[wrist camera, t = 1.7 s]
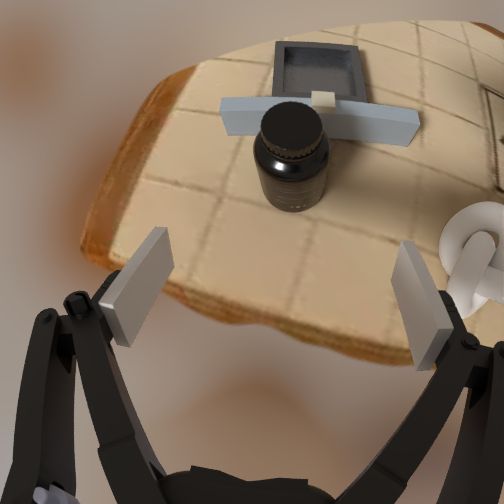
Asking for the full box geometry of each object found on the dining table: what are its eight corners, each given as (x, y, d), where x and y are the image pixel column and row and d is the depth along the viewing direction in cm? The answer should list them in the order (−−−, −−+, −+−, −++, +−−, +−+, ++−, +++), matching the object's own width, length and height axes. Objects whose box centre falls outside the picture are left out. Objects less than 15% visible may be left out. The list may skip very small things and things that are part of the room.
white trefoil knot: (457, 349, 28) (502, 355, 19) (398, 267, 31) (432, 248, 22) (510, 283, 28) (556, 271, 19) (457, 207, 31) (495, 176, 22)
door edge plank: (405, 133, 33) (420, 104, 27) (407, 147, 33) (423, 118, 27) (229, 122, 36) (219, 90, 30) (227, 135, 36) (216, 105, 30)
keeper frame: (355, 58, 37) (357, 46, 34) (364, 117, 35) (368, 105, 32) (276, 53, 38) (275, 41, 36) (273, 111, 36) (271, 99, 34)
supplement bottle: (257, 163, 35) (242, 96, 23) (316, 154, 34) (324, 86, 23) (266, 219, 33) (253, 167, 22) (329, 210, 33) (347, 155, 21)
